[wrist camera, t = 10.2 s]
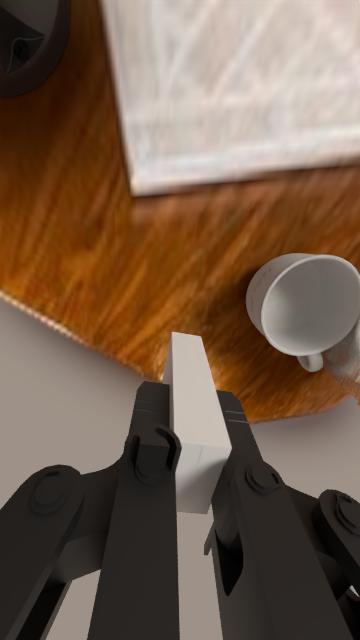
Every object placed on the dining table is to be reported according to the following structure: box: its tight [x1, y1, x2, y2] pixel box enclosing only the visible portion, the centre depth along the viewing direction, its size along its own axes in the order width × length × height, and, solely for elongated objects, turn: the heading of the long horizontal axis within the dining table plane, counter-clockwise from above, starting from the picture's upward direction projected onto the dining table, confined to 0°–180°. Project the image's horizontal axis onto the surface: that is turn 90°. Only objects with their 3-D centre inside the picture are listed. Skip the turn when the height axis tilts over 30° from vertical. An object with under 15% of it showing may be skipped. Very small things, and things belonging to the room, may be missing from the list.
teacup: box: [246, 253, 360, 372], centre depth 28 cm, size 14×11×8 cm
